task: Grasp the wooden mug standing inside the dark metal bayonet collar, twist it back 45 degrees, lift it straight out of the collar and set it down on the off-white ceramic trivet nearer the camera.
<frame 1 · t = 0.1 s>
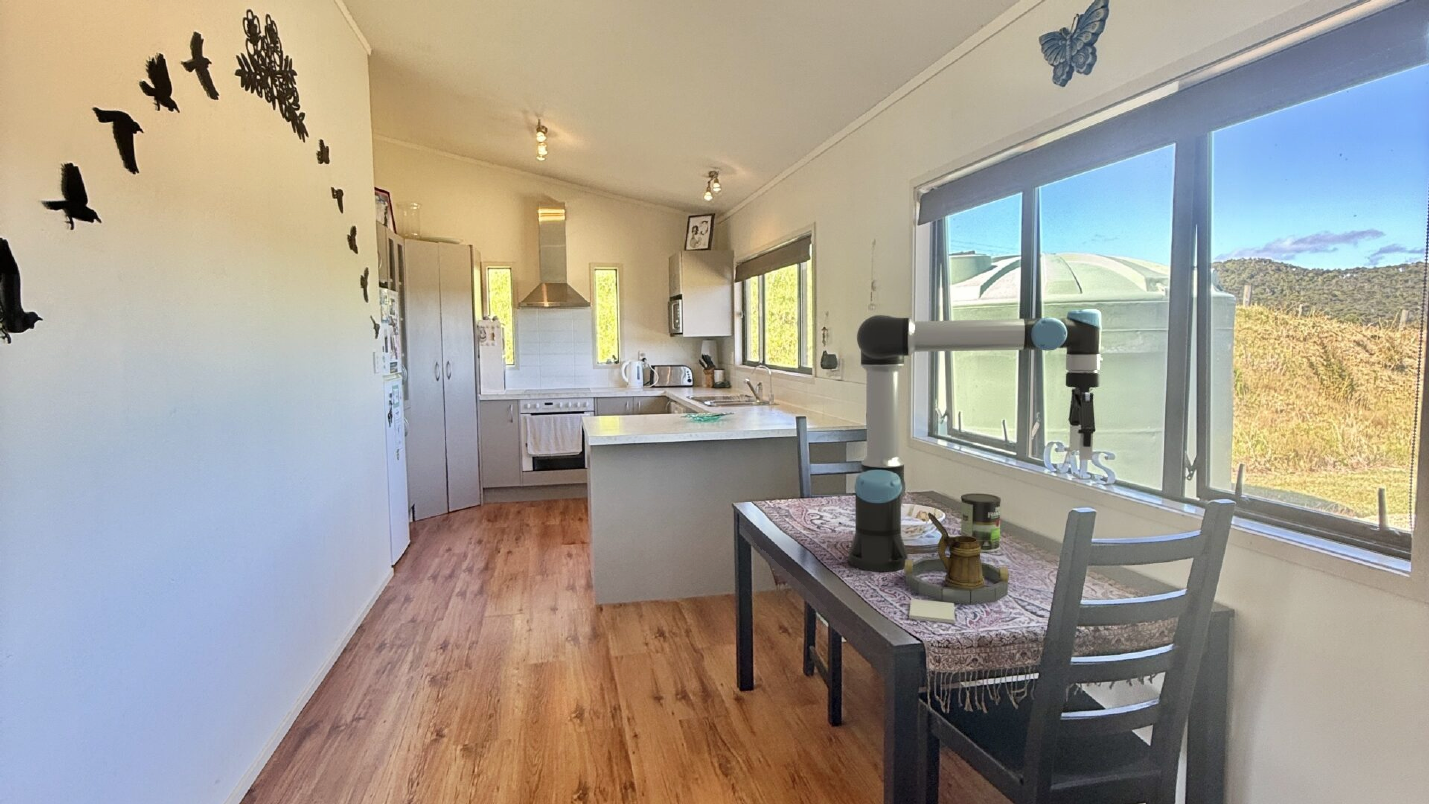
hand: (1080, 454, 172), 28 cm above the table, fingers open, 13 cm apart
collar: (955, 585, 161), on the table
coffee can: (979, 547, 189), on the table
wooden mug: (955, 586, 161), resting in collar
trivet: (932, 612, 145), on the table
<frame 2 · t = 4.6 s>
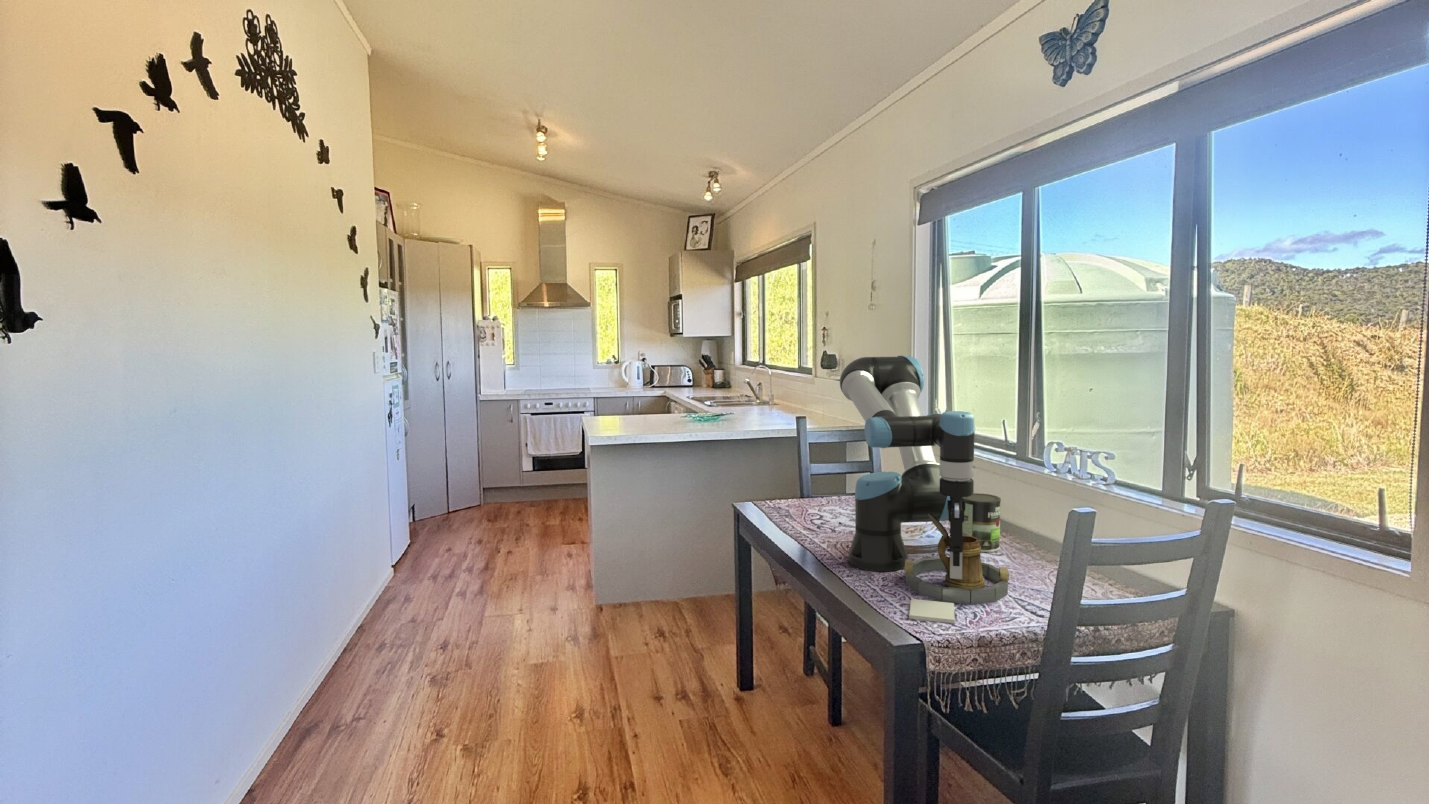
hand: (955, 571, 161), 3 cm above the table, fingers open, 7 cm apart
wooden mug: (955, 585, 161), resting in collar, touching gripper
everything else where it was.
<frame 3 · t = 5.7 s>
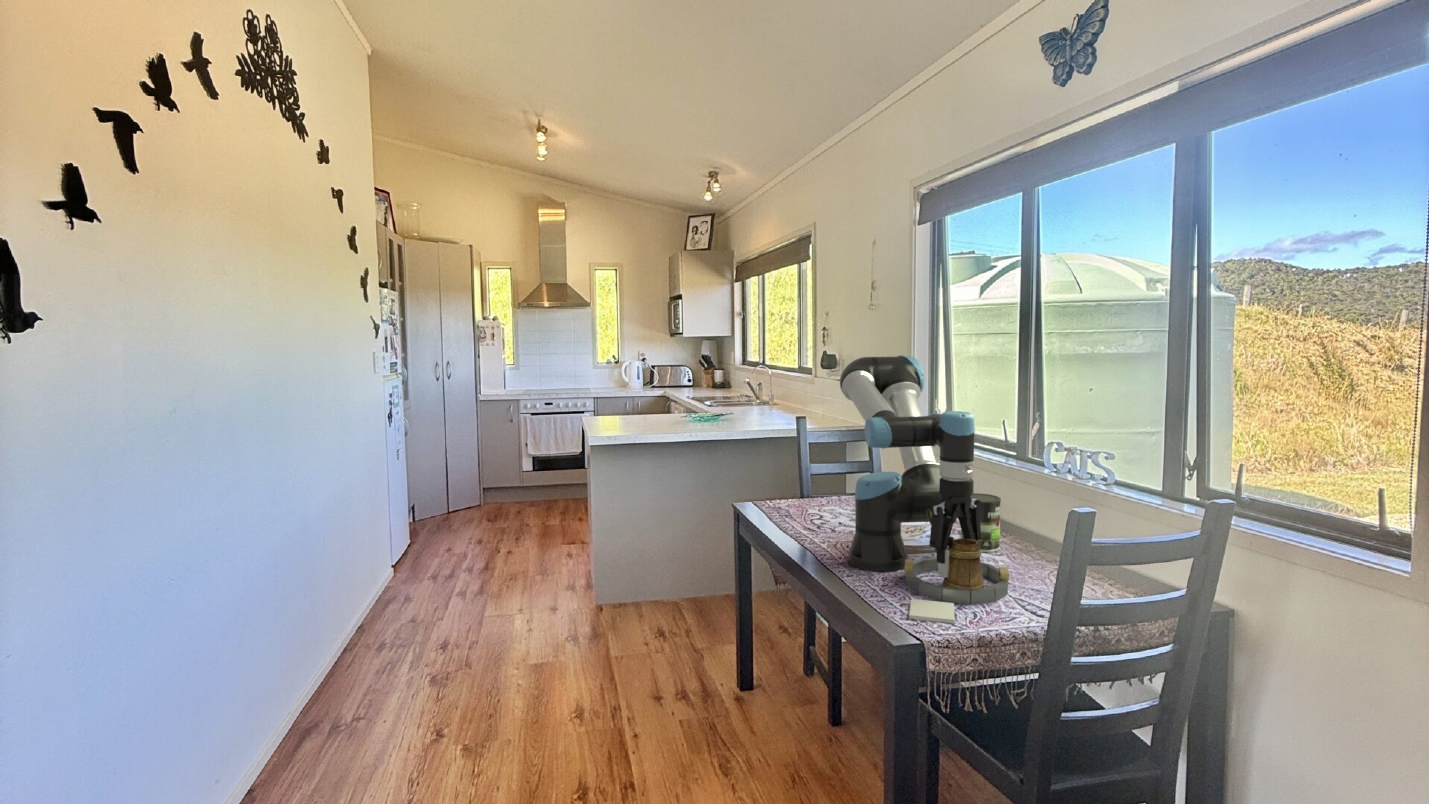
hand: (955, 572, 160), 3 cm above the table, fingers closed on wooden mug, 7 cm apart
wooden mug: (954, 587, 160), resting in collar, touching gripper
everything else where it was.
when the fingers open (5 cm above the table, at t = 11.9 s): wooden mug drops 1 cm, resting on trivet.
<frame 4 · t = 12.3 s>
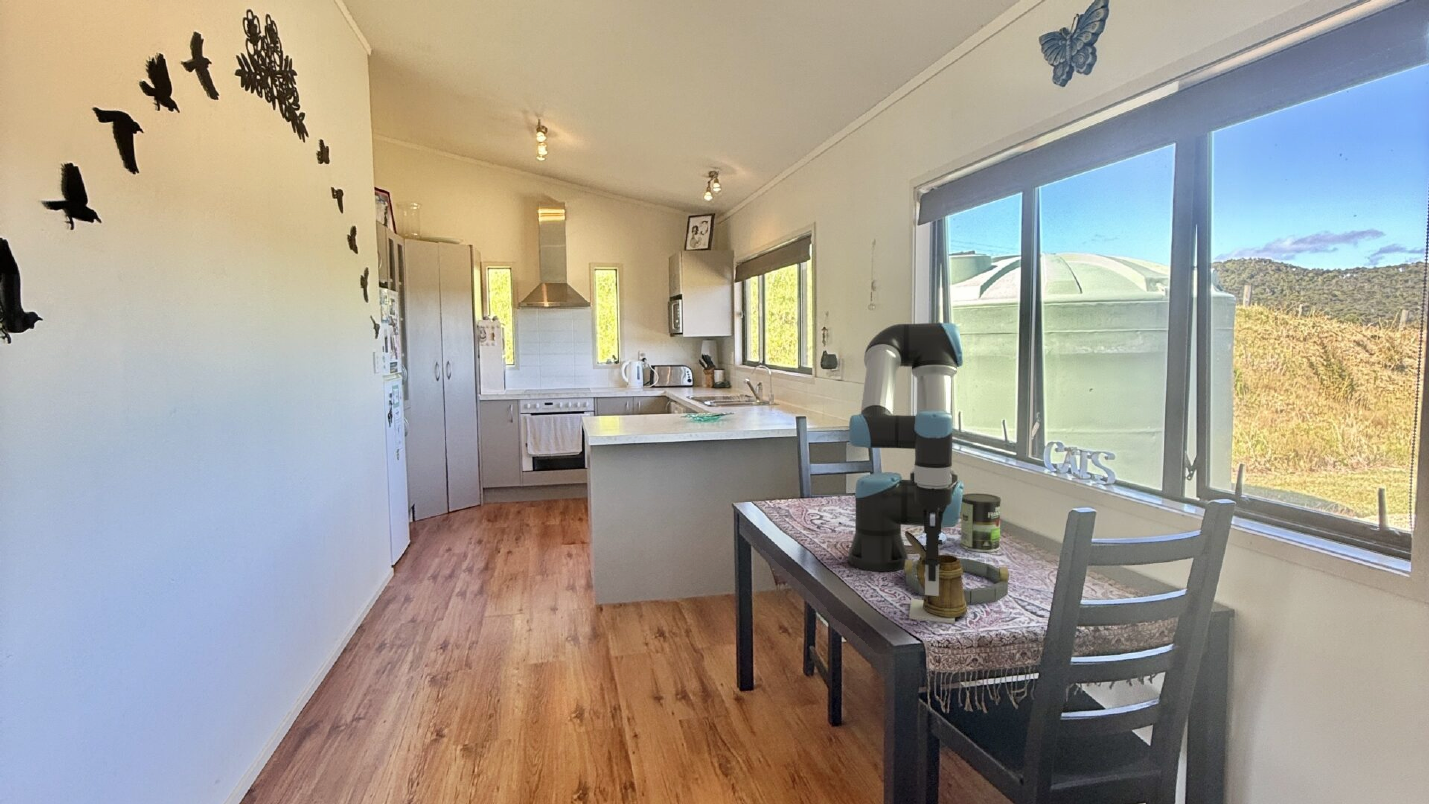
hand: (932, 584, 145), 6 cm above the table, fingers open, 12 cm apart
wooden mug: (935, 611, 144), point 1 cm above the table, touching trivet
everything else where it was.
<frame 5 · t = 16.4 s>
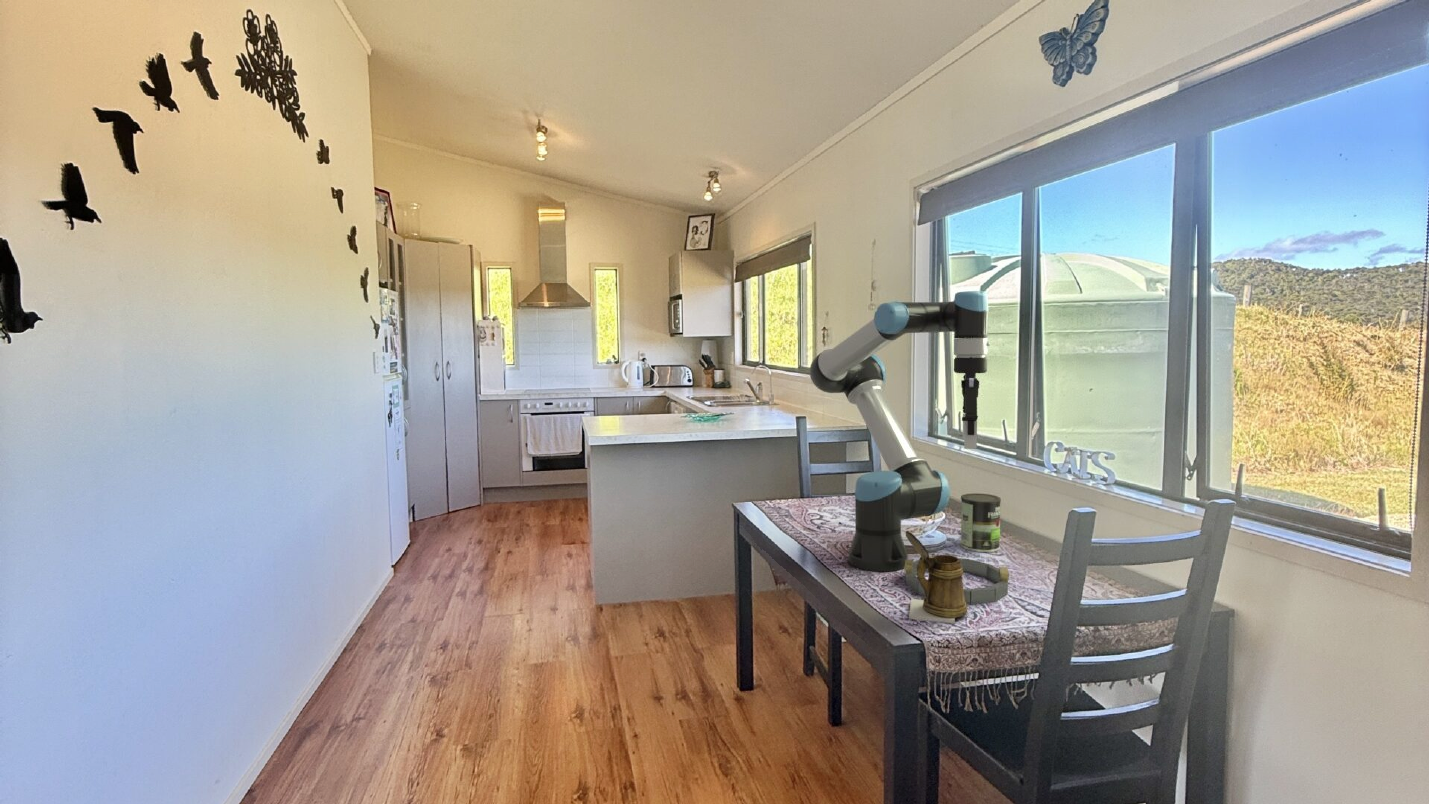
hand: (969, 444, 164), 33 cm above the table, fingers open, 13 cm apart
nothing on the table moved.
at the end: wooden mug 0.9 cm from the trivet (horizontally); wooden mug tilted 0°; the gripper is holding nothing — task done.
